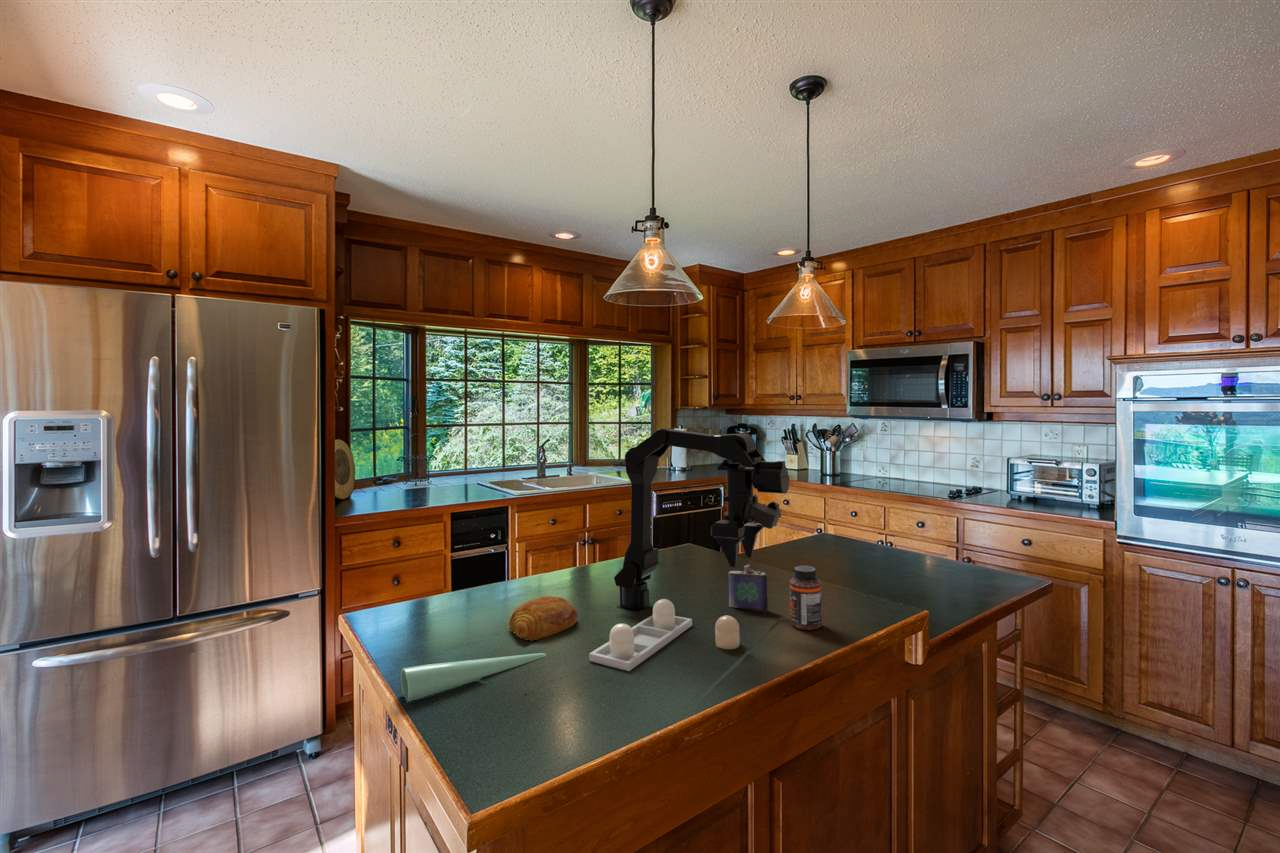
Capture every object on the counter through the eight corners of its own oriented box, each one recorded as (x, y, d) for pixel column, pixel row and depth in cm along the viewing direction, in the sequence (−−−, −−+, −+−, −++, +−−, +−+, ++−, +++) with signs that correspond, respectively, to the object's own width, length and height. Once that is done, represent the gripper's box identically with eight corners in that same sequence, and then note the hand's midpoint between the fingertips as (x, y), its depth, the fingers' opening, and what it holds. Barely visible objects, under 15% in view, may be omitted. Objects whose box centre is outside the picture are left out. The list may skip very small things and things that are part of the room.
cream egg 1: (605, 658, 112) (604, 626, 112) (618, 649, 116) (618, 618, 116) (625, 664, 110) (624, 630, 110) (639, 654, 114) (638, 622, 114)
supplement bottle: (785, 620, 132) (784, 564, 131) (814, 619, 132) (813, 563, 132) (796, 632, 125) (795, 572, 124) (826, 630, 125) (826, 571, 125)
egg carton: (589, 663, 112) (589, 653, 112) (656, 620, 133) (656, 612, 133) (629, 674, 107) (628, 663, 107) (692, 628, 129) (692, 619, 129)
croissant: (588, 636, 131) (591, 600, 132) (532, 648, 120) (536, 609, 120) (548, 620, 141) (551, 586, 142) (493, 629, 130) (497, 593, 130)
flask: (728, 609, 140) (727, 565, 140) (730, 605, 143) (729, 562, 142) (767, 613, 137) (766, 568, 137) (768, 609, 140) (767, 564, 139)
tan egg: (711, 649, 117) (711, 617, 117) (721, 641, 121) (720, 610, 121) (734, 654, 115) (733, 621, 114) (743, 645, 119) (742, 614, 119)
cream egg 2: (649, 630, 126) (648, 601, 126) (660, 623, 130) (659, 594, 130) (668, 634, 124) (667, 604, 124) (679, 626, 128) (678, 598, 128)
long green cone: (552, 635, 113) (407, 674, 97) (552, 663, 113) (409, 707, 97) (539, 627, 117) (399, 663, 101) (540, 654, 117) (400, 695, 102)
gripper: (760, 499, 115) (761, 577, 115) (789, 487, 131) (790, 556, 131) (708, 496, 121) (710, 570, 121) (742, 485, 137) (744, 551, 137)
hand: (741, 562), depth 127 cm, fingers open, 9 cm apart
